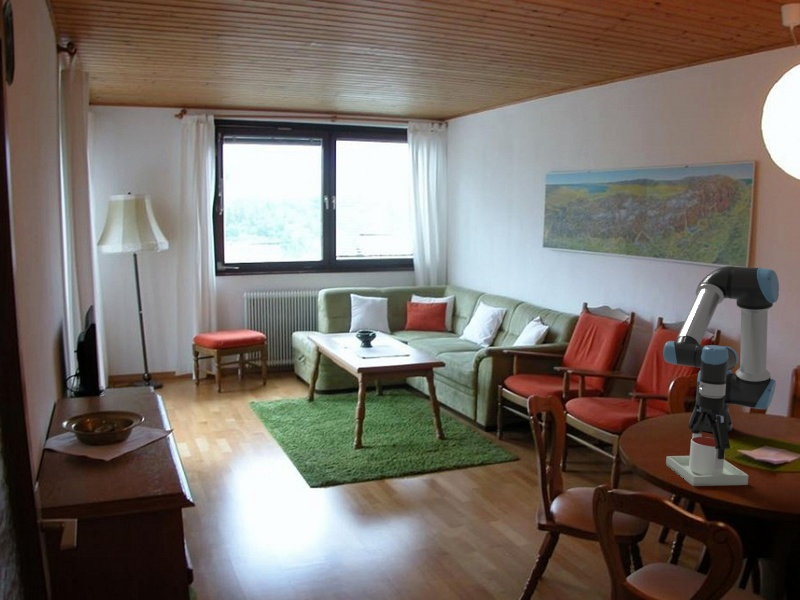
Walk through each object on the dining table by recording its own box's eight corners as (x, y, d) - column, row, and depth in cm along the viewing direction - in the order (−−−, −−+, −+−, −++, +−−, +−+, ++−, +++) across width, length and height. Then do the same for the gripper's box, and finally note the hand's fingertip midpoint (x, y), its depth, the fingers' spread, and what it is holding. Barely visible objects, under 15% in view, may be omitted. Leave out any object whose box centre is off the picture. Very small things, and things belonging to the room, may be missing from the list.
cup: (725, 470, 228) (727, 440, 227) (720, 480, 220) (722, 449, 218) (691, 464, 233) (694, 434, 232) (686, 473, 225) (688, 442, 224)
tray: (716, 463, 236) (717, 455, 236) (747, 484, 219) (748, 475, 218) (665, 465, 234) (666, 456, 234) (693, 486, 217) (693, 476, 216)
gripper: (680, 385, 235) (676, 447, 238) (722, 406, 210) (716, 475, 213) (702, 384, 236) (697, 446, 239) (746, 406, 211) (740, 474, 214)
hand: (706, 460), depth 226 cm, fingers open, 13 cm apart
